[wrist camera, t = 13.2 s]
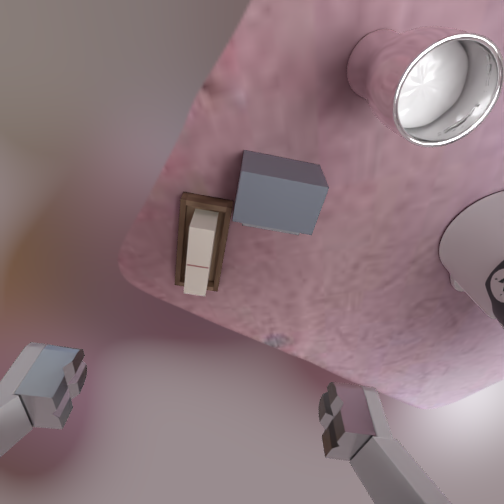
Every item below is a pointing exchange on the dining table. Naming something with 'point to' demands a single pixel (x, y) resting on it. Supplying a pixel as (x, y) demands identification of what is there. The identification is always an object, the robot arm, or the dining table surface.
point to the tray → (223, 221)
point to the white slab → (200, 251)
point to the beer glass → (427, 81)
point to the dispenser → (279, 193)
